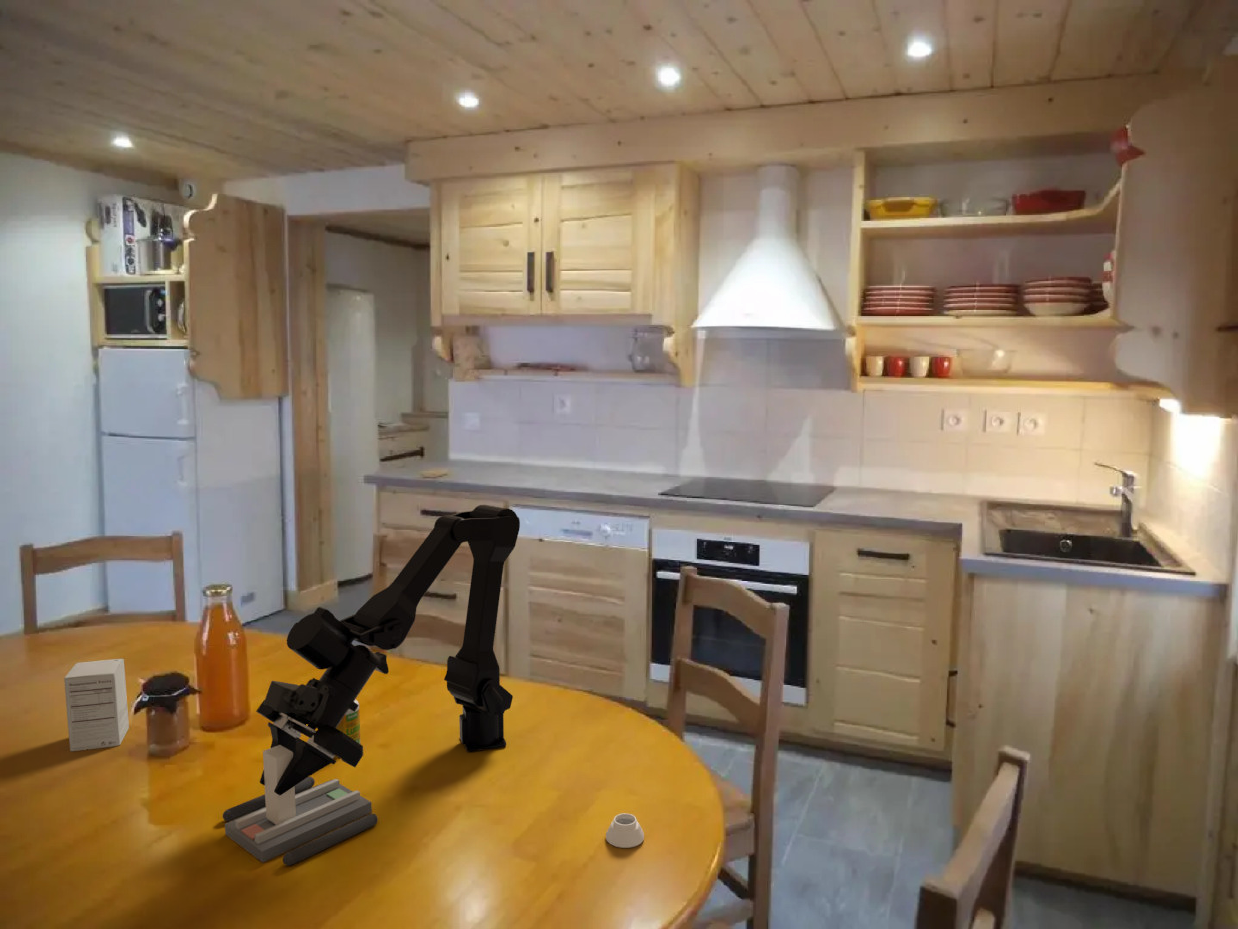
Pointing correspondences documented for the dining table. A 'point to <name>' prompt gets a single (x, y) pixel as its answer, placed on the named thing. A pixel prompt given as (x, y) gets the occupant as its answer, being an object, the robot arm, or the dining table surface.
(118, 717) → the supplement box
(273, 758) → the handle
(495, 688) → the robot arm
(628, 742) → the dining table surface
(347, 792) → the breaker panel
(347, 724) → the supplement bottle
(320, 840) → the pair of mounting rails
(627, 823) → the lidless jar
